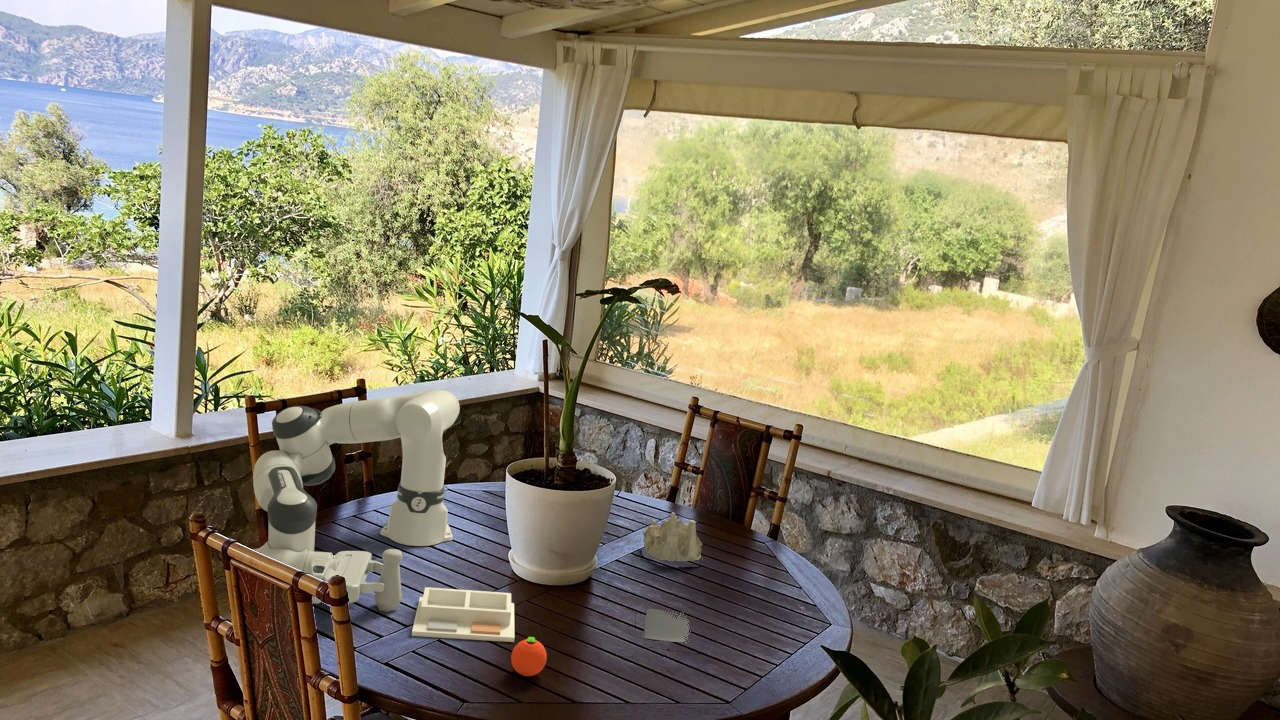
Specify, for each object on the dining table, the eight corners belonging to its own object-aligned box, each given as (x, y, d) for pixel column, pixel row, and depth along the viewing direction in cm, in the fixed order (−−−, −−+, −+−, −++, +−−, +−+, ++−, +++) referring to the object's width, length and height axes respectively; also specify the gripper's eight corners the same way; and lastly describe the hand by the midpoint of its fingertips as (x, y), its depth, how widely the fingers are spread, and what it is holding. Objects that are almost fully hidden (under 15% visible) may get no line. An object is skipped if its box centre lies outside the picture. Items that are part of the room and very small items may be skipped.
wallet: (701, 649, 196) (631, 639, 197) (700, 658, 197) (630, 647, 197) (699, 611, 216) (636, 602, 217) (698, 619, 217) (635, 609, 217)
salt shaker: (393, 615, 195) (398, 558, 194) (368, 610, 197) (374, 552, 195) (405, 605, 201) (411, 549, 199) (381, 600, 202) (386, 544, 200)
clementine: (510, 661, 183) (514, 628, 182) (545, 664, 184) (549, 631, 182) (508, 681, 175) (512, 646, 174) (544, 684, 176) (548, 649, 175)
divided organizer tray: (419, 601, 204) (421, 584, 204) (513, 607, 208) (515, 590, 207) (411, 635, 188) (413, 617, 187) (513, 642, 191) (516, 624, 190)
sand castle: (707, 568, 248) (712, 514, 246) (649, 569, 243) (654, 514, 242) (689, 551, 263) (694, 500, 261) (634, 551, 258) (639, 499, 257)
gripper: (328, 568, 206) (391, 572, 208) (309, 607, 186) (379, 611, 188) (331, 541, 205) (394, 546, 207) (312, 577, 185) (382, 582, 187)
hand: (387, 577), depth 198 cm, fingers open, 8 cm apart
